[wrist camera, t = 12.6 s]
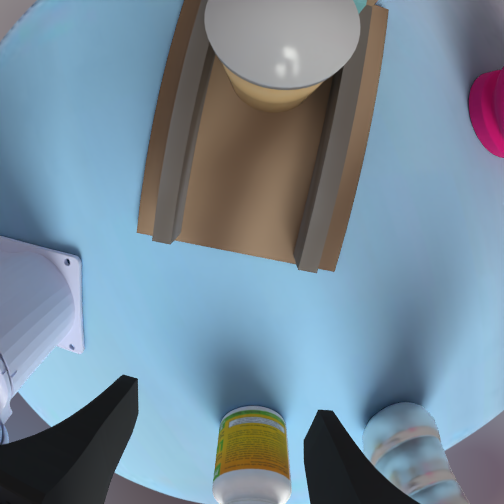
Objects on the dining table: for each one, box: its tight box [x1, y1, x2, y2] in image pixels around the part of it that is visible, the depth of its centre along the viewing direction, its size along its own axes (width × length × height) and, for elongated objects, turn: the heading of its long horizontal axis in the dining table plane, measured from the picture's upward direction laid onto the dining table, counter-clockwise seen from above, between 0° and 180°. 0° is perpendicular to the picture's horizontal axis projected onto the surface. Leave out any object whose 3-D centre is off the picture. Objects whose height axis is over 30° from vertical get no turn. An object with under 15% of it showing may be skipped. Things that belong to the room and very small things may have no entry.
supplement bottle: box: [212, 406, 291, 504], centre depth 19 cm, size 5×5×10 cm
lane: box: [137, 0, 388, 273], centre depth 15 cm, size 12×17×4 cm
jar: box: [204, 0, 360, 113], centre depth 12 cm, size 5×5×8 cm
